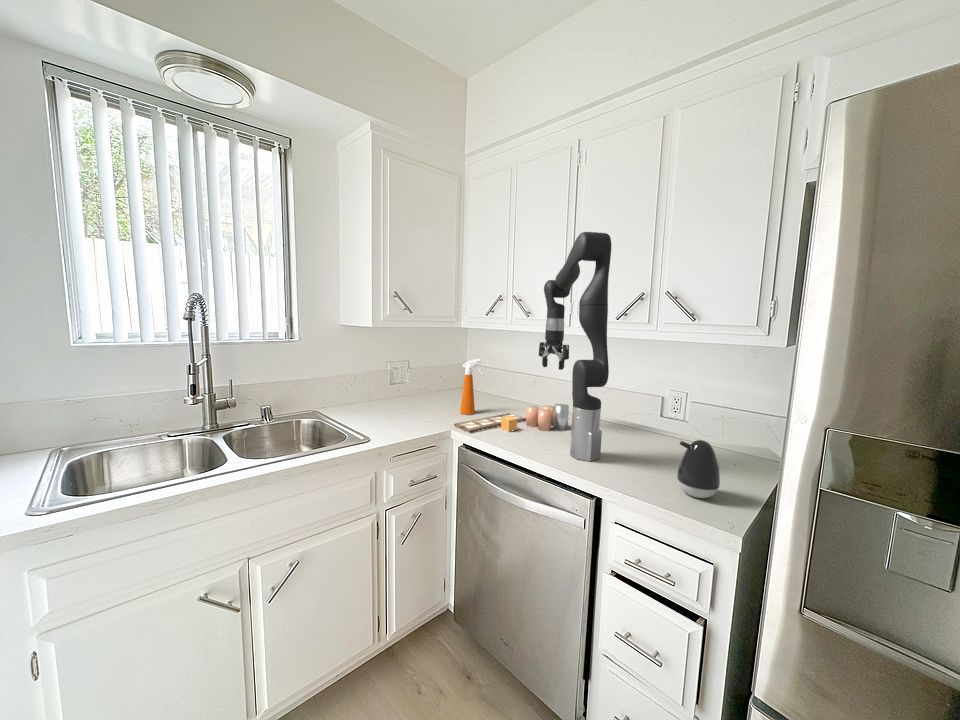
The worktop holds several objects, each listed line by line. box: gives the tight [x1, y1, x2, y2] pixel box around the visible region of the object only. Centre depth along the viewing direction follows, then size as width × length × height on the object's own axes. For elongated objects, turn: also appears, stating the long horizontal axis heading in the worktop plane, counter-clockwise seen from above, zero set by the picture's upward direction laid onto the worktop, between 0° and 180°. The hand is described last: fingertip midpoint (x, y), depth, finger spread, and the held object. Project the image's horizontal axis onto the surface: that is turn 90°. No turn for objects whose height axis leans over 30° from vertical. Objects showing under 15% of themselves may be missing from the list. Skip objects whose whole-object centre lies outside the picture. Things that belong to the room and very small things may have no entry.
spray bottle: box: [459, 358, 484, 416], centre depth 186 cm, size 7×11×26 cm, turn 89°
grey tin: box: [553, 403, 570, 431], centre depth 166 cm, size 6×6×10 cm
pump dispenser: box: [676, 439, 721, 499], centre depth 106 cm, size 10×10×15 cm
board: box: [453, 412, 526, 433], centre depth 170 cm, size 11×32×1 cm, turn 130°
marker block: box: [500, 416, 518, 432], centre depth 162 cm, size 4×4×5 cm
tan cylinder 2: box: [542, 404, 554, 427], centre depth 171 cm, size 5×5×8 cm
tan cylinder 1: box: [525, 405, 540, 428], centre depth 169 cm, size 5×5×8 cm
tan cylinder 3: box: [537, 408, 551, 432], centre depth 164 cm, size 5×5×8 cm
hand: (552, 368), depth 163 cm, fingers open, 8 cm apart
